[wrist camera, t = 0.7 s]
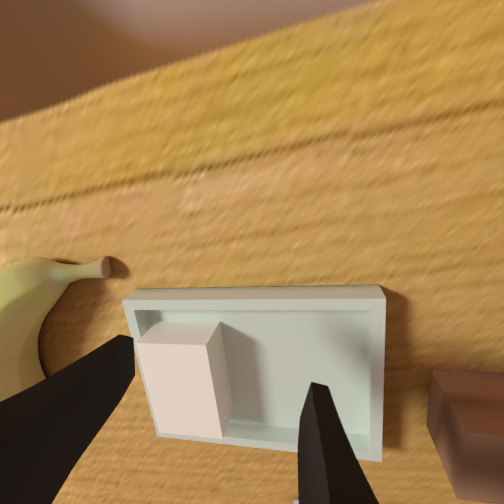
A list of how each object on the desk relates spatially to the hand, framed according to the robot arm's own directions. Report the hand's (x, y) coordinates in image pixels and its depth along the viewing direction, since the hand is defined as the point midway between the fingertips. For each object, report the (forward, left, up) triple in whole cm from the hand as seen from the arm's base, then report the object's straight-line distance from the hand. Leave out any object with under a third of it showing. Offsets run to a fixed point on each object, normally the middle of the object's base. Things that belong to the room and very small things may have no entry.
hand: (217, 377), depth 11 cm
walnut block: (-10, -14, -10) cm, 20 cm away
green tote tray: (-7, +1, -10) cm, 12 cm away
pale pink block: (-7, +6, -9) cm, 13 cm away
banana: (-5, +19, -10) cm, 22 cm away
